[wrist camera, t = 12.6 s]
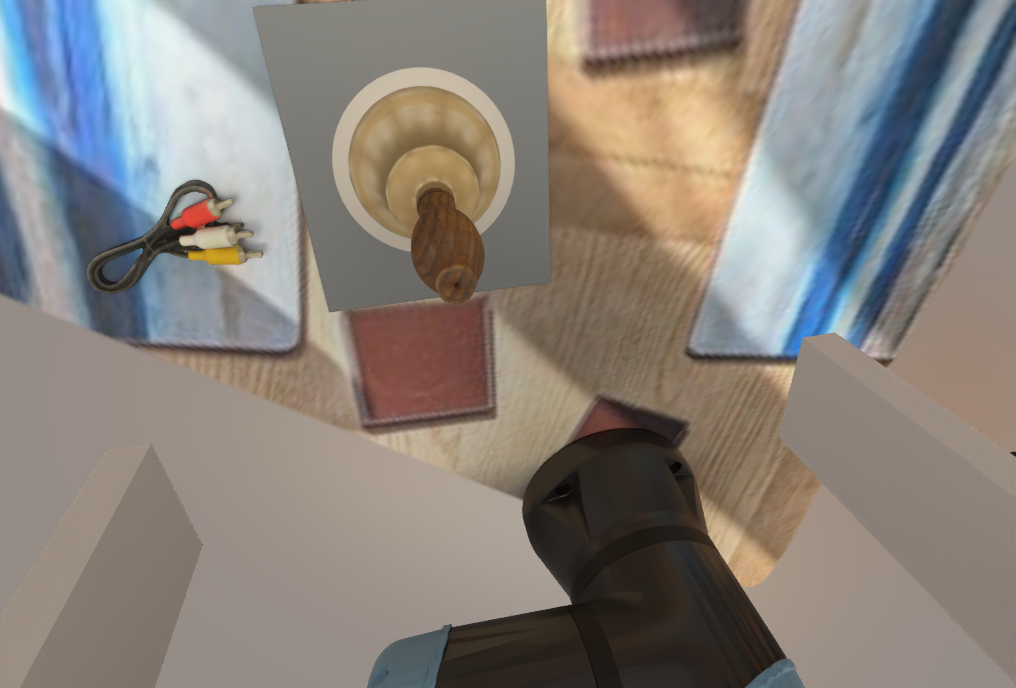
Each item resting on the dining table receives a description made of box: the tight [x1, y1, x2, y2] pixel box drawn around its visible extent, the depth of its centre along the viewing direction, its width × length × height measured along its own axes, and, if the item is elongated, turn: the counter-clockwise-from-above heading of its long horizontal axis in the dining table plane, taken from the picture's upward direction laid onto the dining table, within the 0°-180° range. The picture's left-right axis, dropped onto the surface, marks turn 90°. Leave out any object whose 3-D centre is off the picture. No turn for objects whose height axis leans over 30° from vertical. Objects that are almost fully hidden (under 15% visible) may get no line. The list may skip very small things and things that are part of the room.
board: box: [253, 0, 551, 312], centre depth 31 cm, size 16×14×1 cm
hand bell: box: [348, 86, 501, 304], centre depth 24 cm, size 8×8×16 cm
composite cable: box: [87, 180, 263, 294], centre depth 30 cm, size 10×5×2 cm, turn 104°
